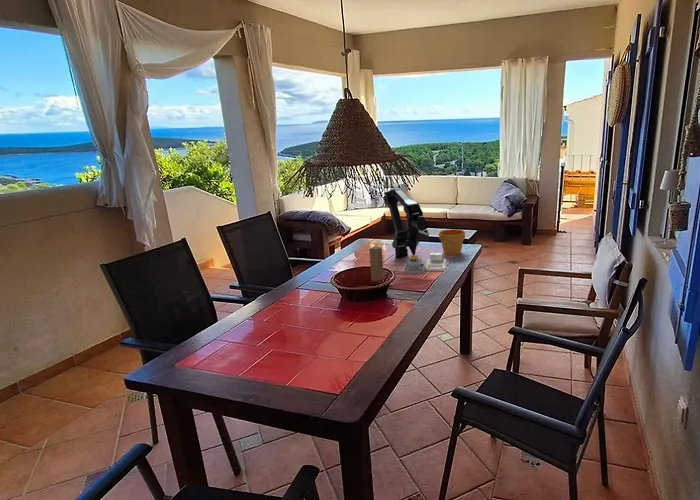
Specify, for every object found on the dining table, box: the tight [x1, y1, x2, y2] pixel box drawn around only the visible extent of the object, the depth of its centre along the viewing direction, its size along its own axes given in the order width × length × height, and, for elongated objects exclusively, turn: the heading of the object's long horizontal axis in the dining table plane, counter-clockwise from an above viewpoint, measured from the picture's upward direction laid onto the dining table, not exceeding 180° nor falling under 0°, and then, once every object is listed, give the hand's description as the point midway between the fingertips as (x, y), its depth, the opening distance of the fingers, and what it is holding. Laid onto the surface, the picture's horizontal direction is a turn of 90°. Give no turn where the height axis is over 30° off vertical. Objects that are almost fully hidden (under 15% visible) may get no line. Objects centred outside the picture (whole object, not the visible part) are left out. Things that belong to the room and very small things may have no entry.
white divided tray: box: [424, 258, 448, 272], centre depth 222 cm, size 10×17×2 cm, turn 164°
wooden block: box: [369, 246, 386, 281], centre depth 202 cm, size 9×4×18 cm, turn 59°
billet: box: [407, 259, 422, 271], centre depth 220 cm, size 6×4×5 cm, turn 74°
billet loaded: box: [429, 252, 444, 262], centre depth 226 cm, size 6×4×5 cm, turn 74°
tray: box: [402, 262, 427, 274], centre depth 220 cm, size 10×13×2 cm
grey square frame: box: [406, 257, 423, 263], centre depth 231 cm, size 7×7×2 cm
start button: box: [410, 254, 419, 259], centre depth 231 cm, size 4×4×3 cm
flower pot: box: [438, 228, 466, 256], centre depth 241 cm, size 14×14×13 cm
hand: (414, 255), depth 230 cm, fingers closed
